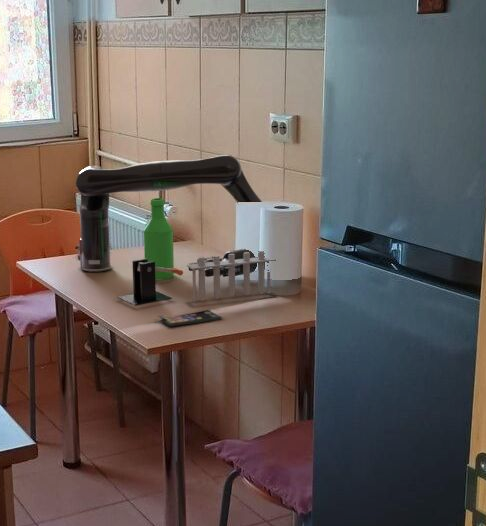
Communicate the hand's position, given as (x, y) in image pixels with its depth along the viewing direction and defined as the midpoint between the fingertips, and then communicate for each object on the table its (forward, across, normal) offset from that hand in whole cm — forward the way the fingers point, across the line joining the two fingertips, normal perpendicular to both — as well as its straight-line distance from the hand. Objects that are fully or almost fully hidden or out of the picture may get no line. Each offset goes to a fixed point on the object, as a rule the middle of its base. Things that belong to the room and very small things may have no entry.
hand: (197, 270), depth 268 cm
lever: (+13, 0, -1) cm, 13 cm away
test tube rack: (-3, +13, +7) cm, 15 cm away
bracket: (+18, 0, +6) cm, 19 cm away
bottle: (+2, -18, +6) cm, 19 cm away
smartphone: (+17, +21, +7) cm, 28 cm away
